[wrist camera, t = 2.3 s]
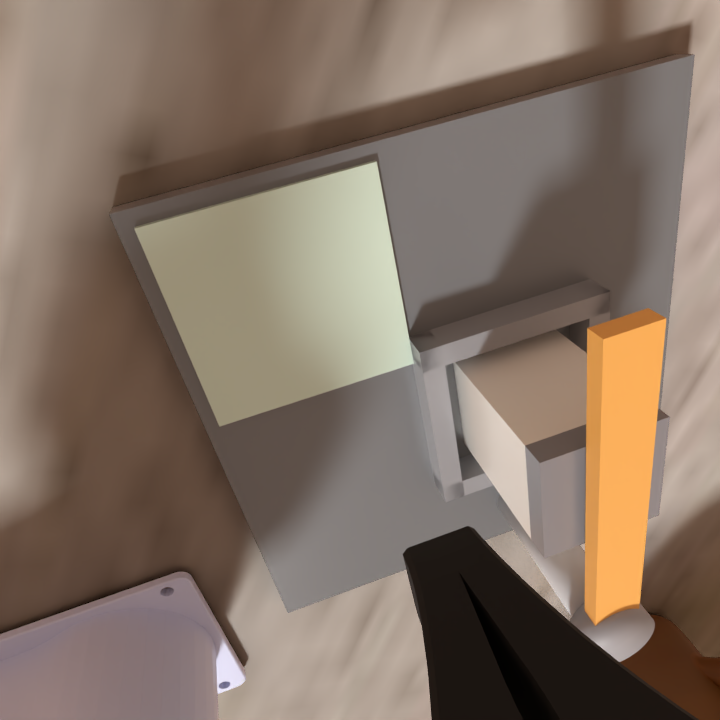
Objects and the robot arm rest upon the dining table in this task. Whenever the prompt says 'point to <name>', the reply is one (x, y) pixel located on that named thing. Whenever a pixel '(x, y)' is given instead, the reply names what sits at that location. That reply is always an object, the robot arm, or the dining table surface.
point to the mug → (678, 670)
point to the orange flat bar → (619, 477)
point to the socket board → (406, 307)
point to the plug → (538, 434)
